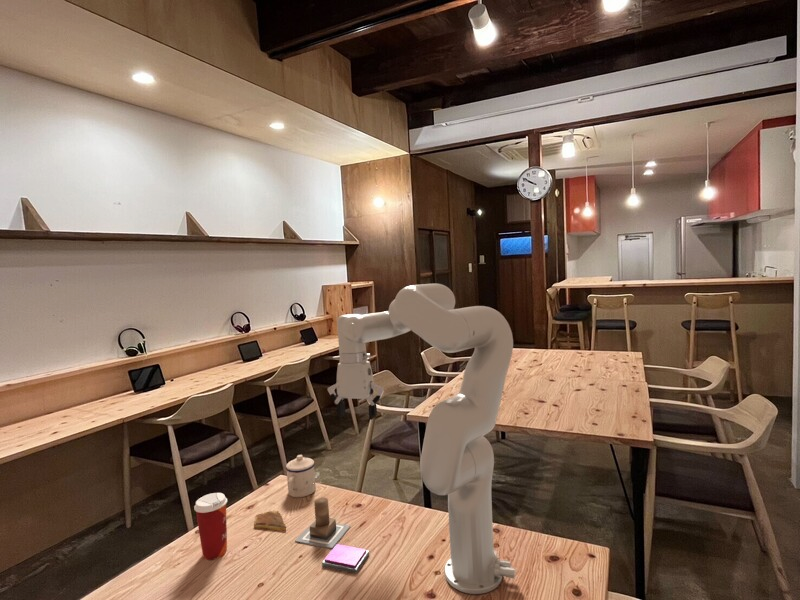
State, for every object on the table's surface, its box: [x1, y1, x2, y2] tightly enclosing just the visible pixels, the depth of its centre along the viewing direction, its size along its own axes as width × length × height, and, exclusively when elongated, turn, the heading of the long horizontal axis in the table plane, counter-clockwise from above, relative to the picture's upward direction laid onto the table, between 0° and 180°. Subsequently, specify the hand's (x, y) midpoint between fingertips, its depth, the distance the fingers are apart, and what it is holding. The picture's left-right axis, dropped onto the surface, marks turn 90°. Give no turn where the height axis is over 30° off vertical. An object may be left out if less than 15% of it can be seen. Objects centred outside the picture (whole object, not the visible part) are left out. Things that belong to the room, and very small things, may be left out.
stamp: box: [309, 496, 337, 540], centre depth 115 cm, size 5×5×9 cm
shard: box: [253, 510, 287, 531], centre depth 121 cm, size 11×8×2 cm
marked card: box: [294, 522, 351, 550], centre depth 115 cm, size 11×10×1 cm
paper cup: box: [193, 492, 228, 561], centre depth 110 cm, size 8×8×14 cm
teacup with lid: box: [285, 454, 316, 498], centre depth 138 cm, size 12×9×12 cm
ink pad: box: [321, 543, 370, 574], centre depth 104 cm, size 9×7×2 cm
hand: (357, 417), depth 124 cm, fingers open, 9 cm apart
